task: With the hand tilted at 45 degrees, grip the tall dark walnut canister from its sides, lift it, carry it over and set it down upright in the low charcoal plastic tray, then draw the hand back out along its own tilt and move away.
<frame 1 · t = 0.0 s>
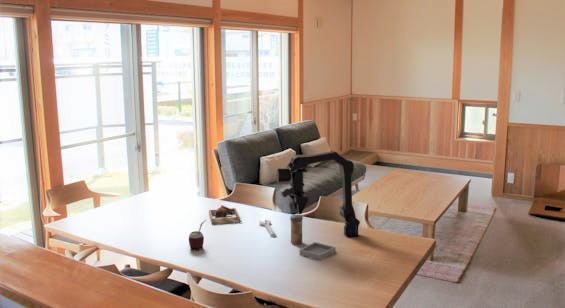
hand: (297, 211, 262), 15 cm above the table, tool pointing down, fingers open, 9 cm apart
adjustable wrench: (267, 230, 282), on the table
walnut canister: (296, 242, 261), on the table
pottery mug: (223, 218, 301), on the table
tray: (317, 253, 247), on the table
mate gourd: (197, 249, 254), on the table
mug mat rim: (224, 218, 301), on the table
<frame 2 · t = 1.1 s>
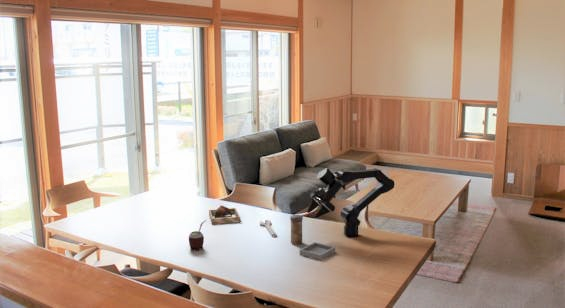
hand: (311, 214, 261), 13 cm above the table, tool tilted 45°, fingers open, 9 cm apart
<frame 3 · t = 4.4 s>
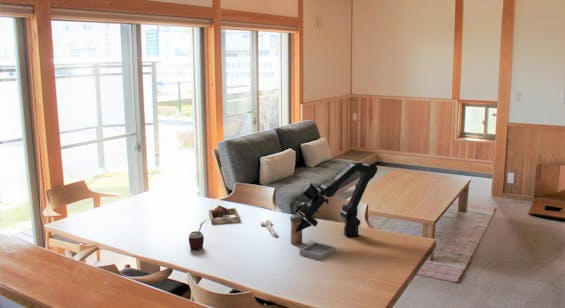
hand: (293, 229, 259), 7 cm above the table, tool tilted 45°, fingers closed on walnut canister, 6 cm apart
walnut canister: (296, 242, 261), on the table, touching gripper
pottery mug: (220, 218, 302), on the table
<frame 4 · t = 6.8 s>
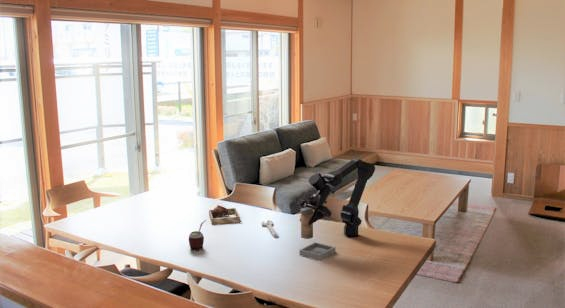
hand: (304, 223, 248), 13 cm above the table, tool tilted 45°, fingers closed on walnut canister, 6 cm apart
walnut canister: (307, 236, 251), point 6 cm above the table, touching gripper
when the fingers open (9 cm above the table, at t = 9.4 s): walnut canister stays where it is, resting on tray.
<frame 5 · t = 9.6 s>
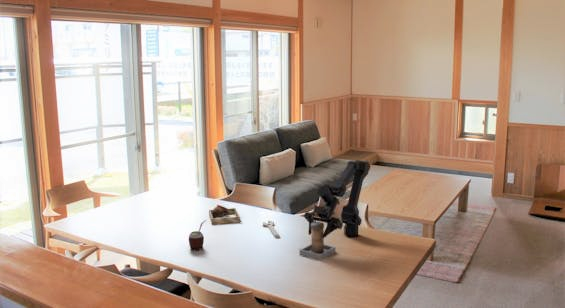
hand: (316, 236, 244), 9 cm above the table, tool tilted 45°, fingers open, 7 cm apart
walnut canister: (317, 251, 247), point 1 cm above the table, touching tray
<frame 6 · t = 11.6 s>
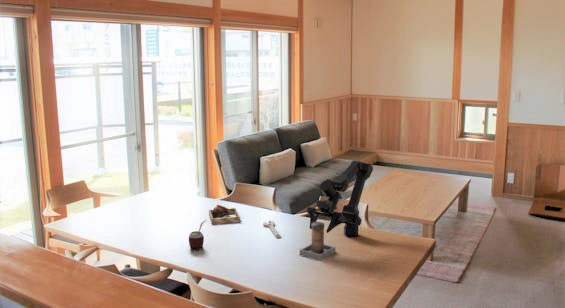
hand: (318, 230, 245), 11 cm above the table, tool tilted 45°, fingers open, 9 cm apart
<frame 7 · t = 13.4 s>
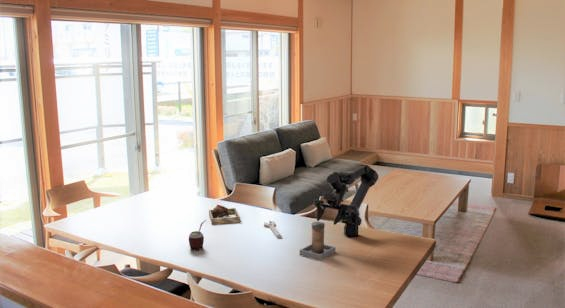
hand: (325, 222, 250), 13 cm above the table, tool tilted 45°, fingers open, 9 cm apart
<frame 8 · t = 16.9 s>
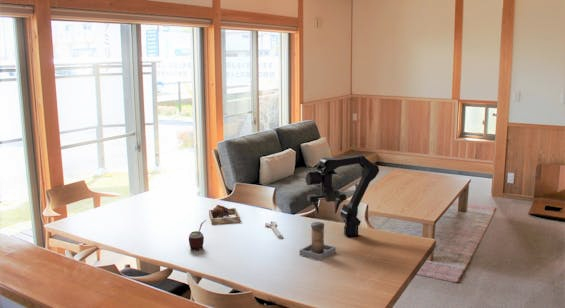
hand: (326, 213, 264), 13 cm above the table, tool pointing down, fingers open, 9 cm apart
at the end: walnut canister inside the target area on the tray (0.1 cm from its centre), point 0.9 cm above the tray's base; walnut canister tilted 1°; the gripper is holding nothing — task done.
